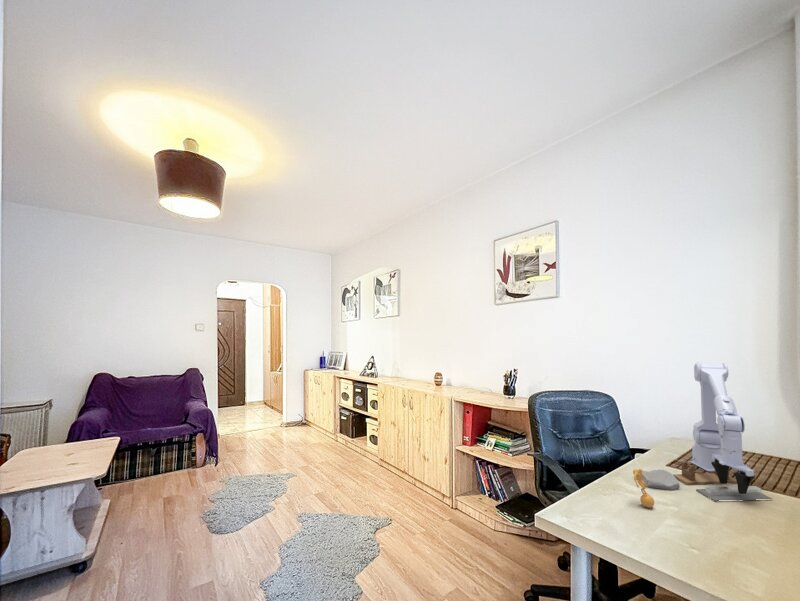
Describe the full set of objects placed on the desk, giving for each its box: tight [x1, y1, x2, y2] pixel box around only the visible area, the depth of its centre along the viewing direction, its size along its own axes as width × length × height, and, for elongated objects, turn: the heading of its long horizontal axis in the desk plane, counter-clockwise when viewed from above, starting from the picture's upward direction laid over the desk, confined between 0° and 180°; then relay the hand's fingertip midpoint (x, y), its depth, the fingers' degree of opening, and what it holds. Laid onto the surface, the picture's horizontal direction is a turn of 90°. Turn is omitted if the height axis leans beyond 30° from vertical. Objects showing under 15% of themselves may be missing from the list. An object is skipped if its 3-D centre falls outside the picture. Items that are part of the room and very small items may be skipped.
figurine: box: [632, 468, 655, 508], centre depth 130 cm, size 8×6×12 cm
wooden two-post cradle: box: [672, 460, 737, 486], centre depth 148 cm, size 20×7×6 cm, turn 91°
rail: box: [705, 485, 762, 496], centre depth 136 cm, size 18×2×2 cm, turn 91°
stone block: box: [641, 469, 680, 491], centre depth 145 cm, size 12×5×10 cm
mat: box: [695, 488, 773, 502], centre depth 136 cm, size 8×20×1 cm, turn 91°
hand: (732, 488), depth 136 cm, fingers open, 7 cm apart
